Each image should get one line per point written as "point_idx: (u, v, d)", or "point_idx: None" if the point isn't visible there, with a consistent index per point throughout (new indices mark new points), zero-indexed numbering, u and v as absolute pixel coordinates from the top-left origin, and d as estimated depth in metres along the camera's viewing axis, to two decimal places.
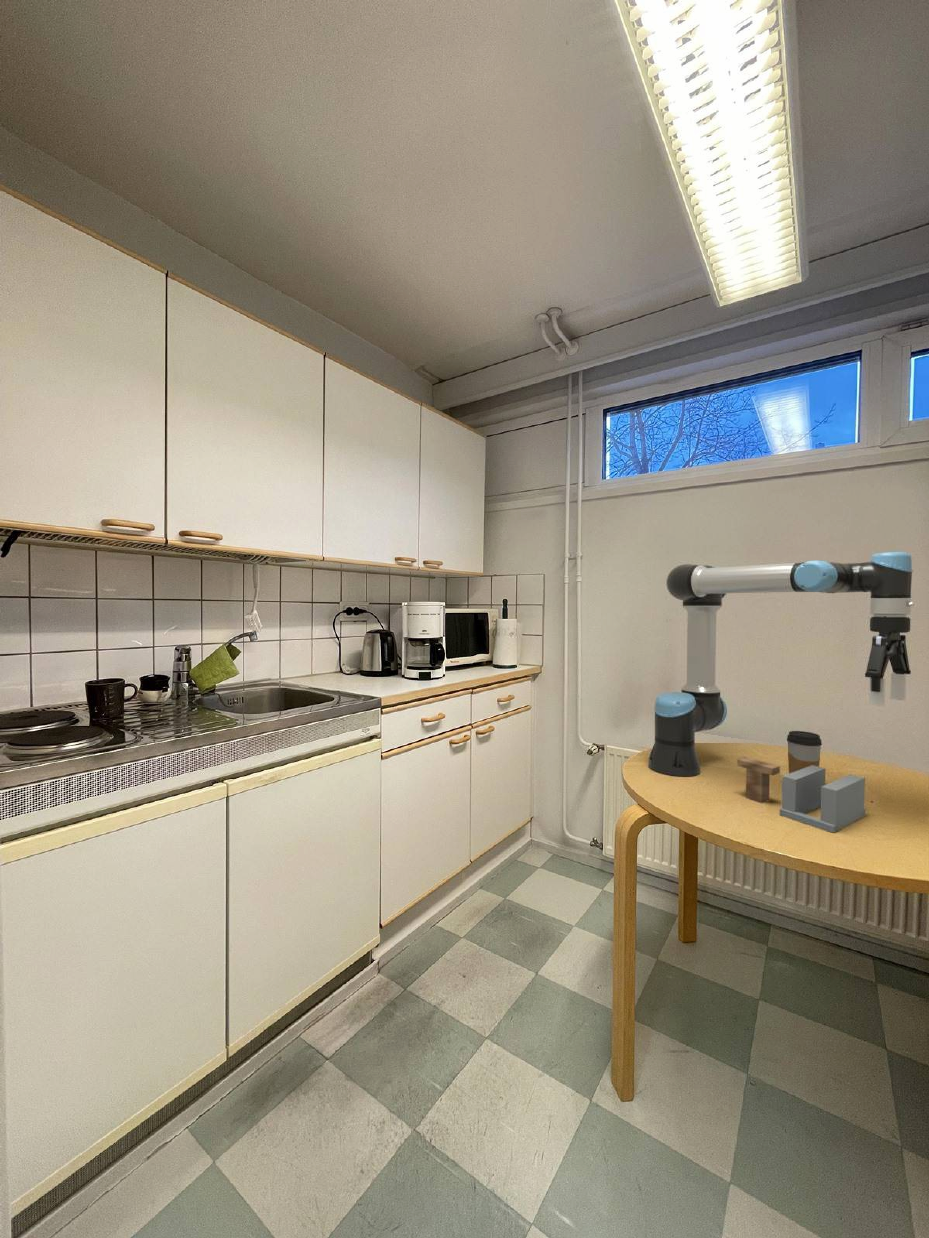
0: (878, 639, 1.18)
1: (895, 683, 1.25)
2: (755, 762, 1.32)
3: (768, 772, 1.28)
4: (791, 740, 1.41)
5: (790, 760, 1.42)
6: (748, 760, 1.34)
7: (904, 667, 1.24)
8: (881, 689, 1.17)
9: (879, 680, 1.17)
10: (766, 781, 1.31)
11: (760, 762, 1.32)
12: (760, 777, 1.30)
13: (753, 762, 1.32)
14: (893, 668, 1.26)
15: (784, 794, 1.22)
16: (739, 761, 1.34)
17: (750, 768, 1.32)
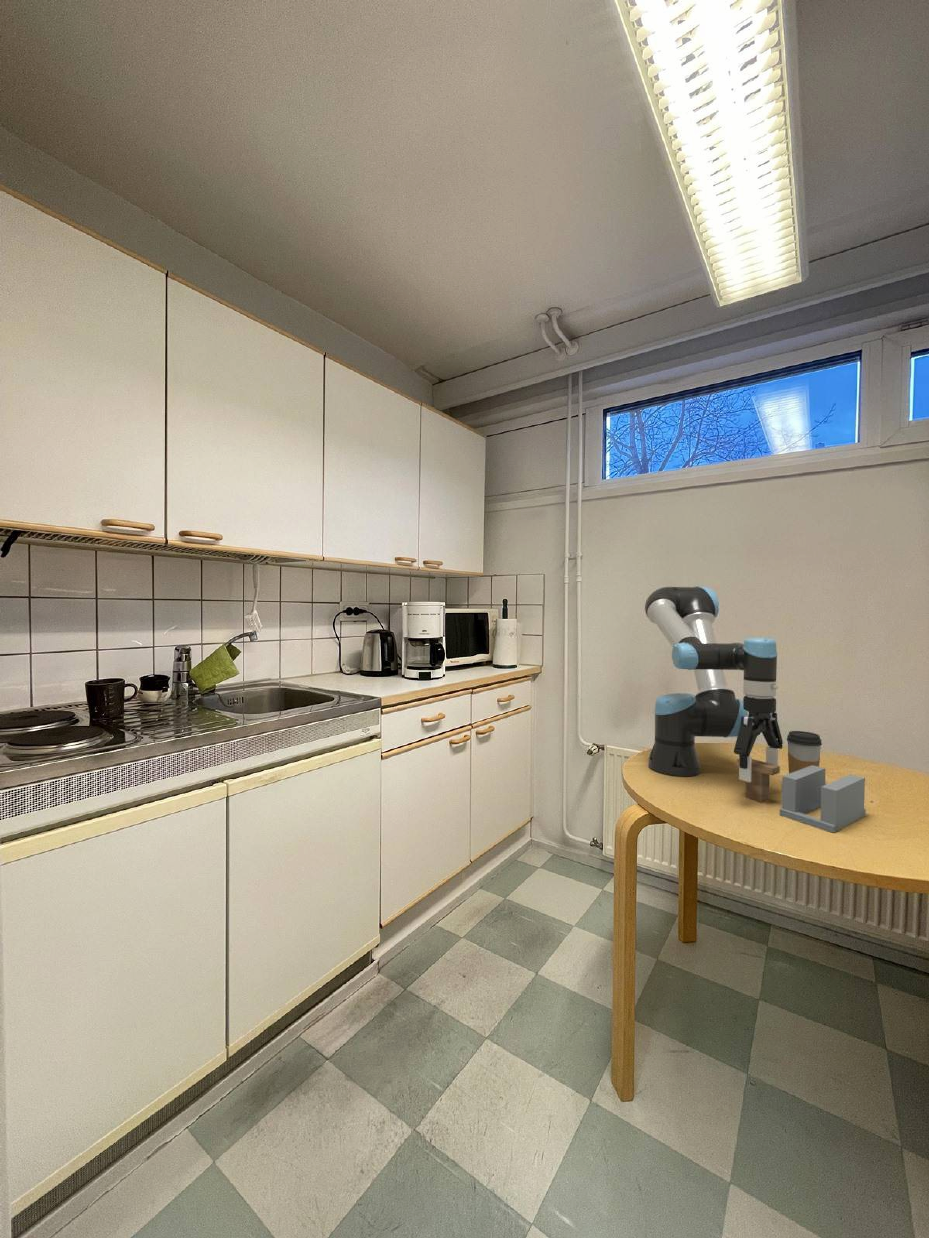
0: (745, 720, 1.28)
1: (769, 756, 1.36)
2: (755, 762, 1.32)
3: (768, 772, 1.28)
4: (791, 740, 1.41)
5: (790, 760, 1.42)
6: None
7: (776, 742, 1.34)
8: (748, 766, 1.27)
9: (746, 758, 1.27)
10: (766, 781, 1.31)
11: (760, 762, 1.32)
12: (760, 777, 1.30)
13: (753, 762, 1.32)
14: (767, 742, 1.36)
15: (784, 794, 1.22)
16: None
17: None
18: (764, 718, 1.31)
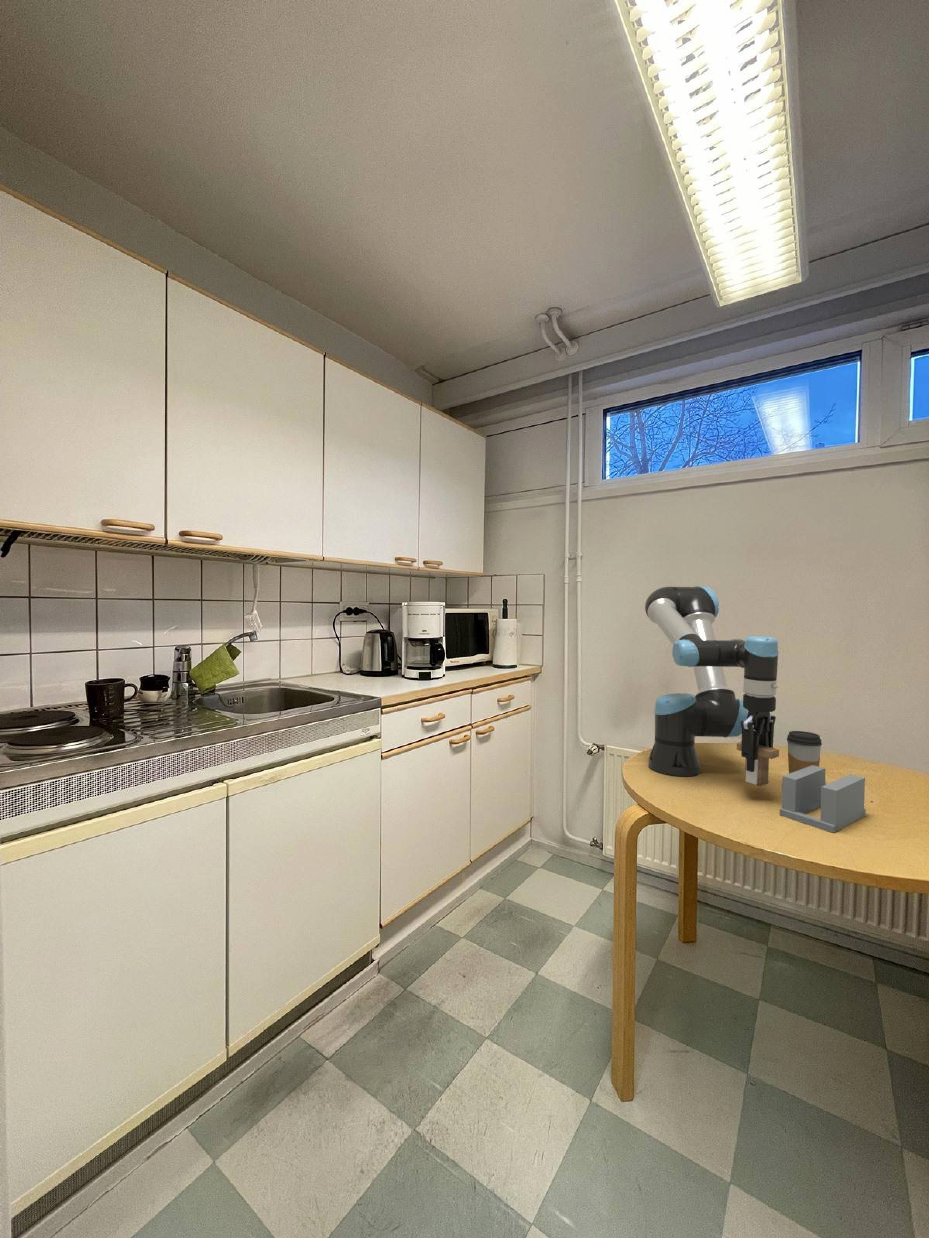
0: (745, 725, 1.29)
1: None
2: None
3: (767, 755, 1.28)
4: (791, 740, 1.41)
5: (790, 760, 1.42)
6: None
7: None
8: (754, 769, 1.31)
9: (753, 761, 1.30)
10: (765, 765, 1.31)
11: (759, 746, 1.33)
12: (759, 761, 1.30)
13: None
14: None
15: (784, 794, 1.22)
16: (739, 745, 1.35)
17: None
18: (764, 711, 1.31)
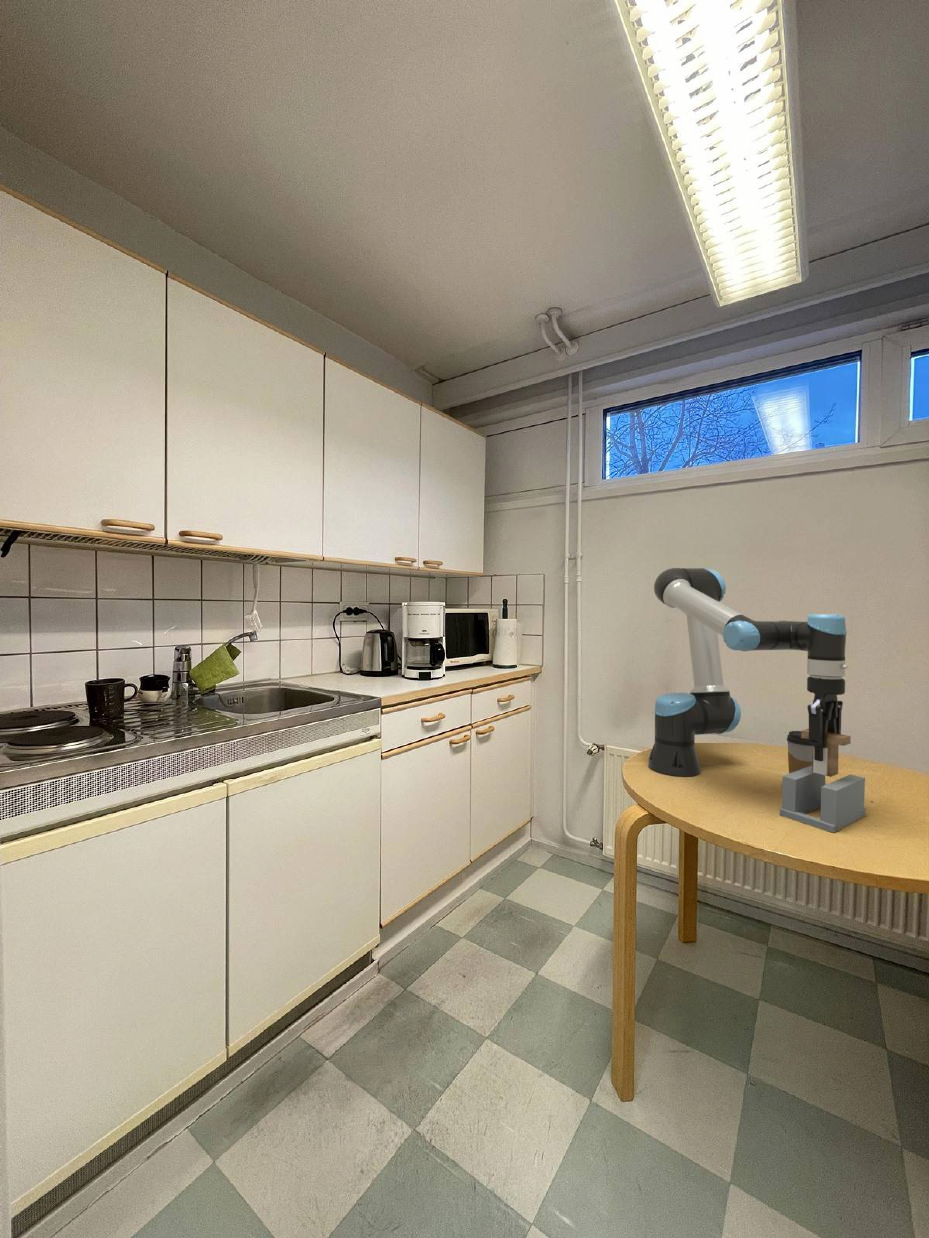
0: (813, 710, 1.18)
1: None
2: None
3: (839, 742, 1.17)
4: (791, 740, 1.41)
5: (790, 760, 1.42)
6: None
7: None
8: (824, 758, 1.19)
9: (822, 749, 1.19)
10: (835, 753, 1.20)
11: (827, 733, 1.22)
12: (829, 749, 1.19)
13: None
14: None
15: (784, 794, 1.22)
16: (803, 732, 1.24)
17: None
18: (832, 695, 1.21)
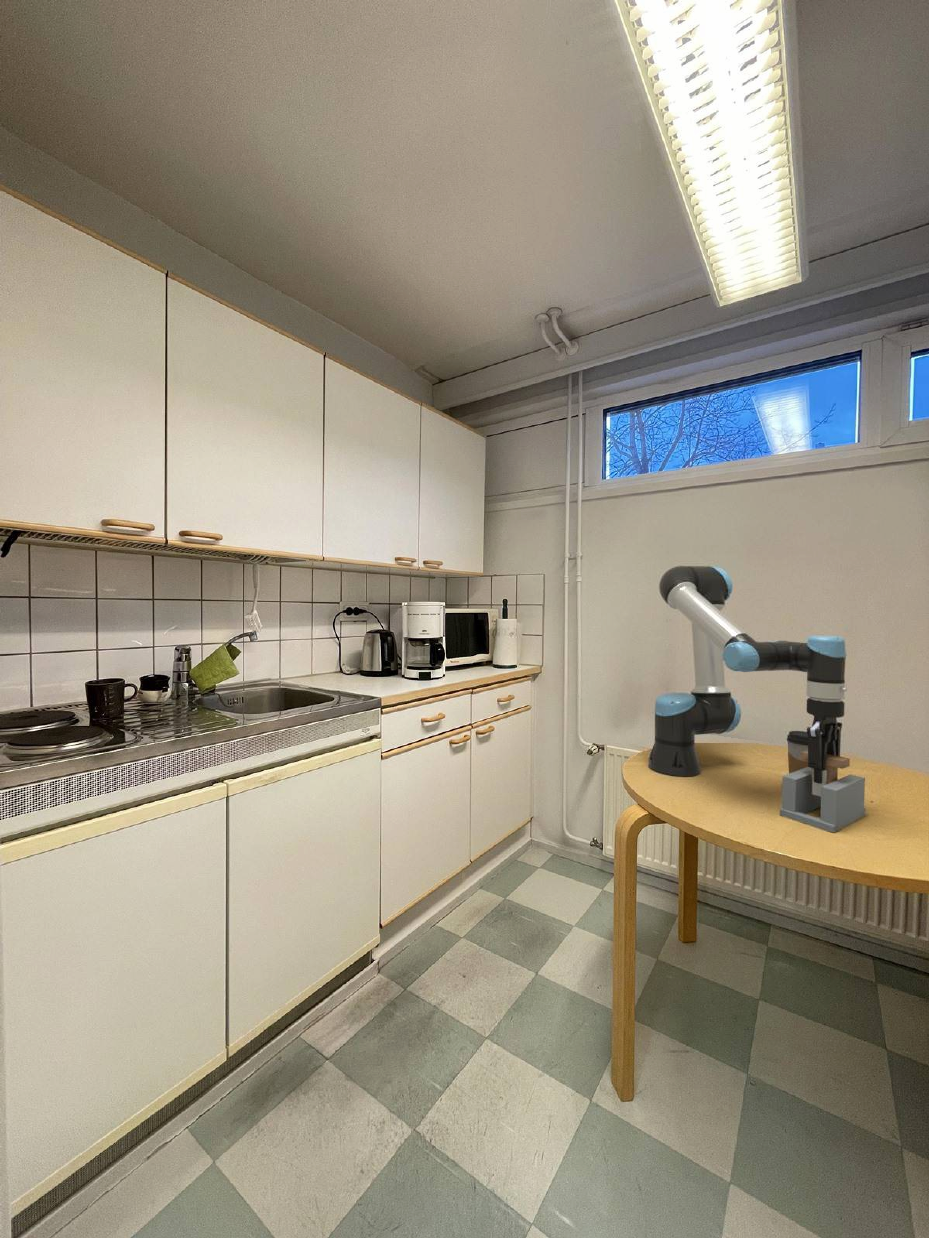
0: (812, 732, 1.18)
1: None
2: None
3: (838, 765, 1.18)
4: (791, 740, 1.41)
5: (790, 760, 1.42)
6: None
7: None
8: (823, 780, 1.20)
9: (821, 772, 1.19)
10: (834, 775, 1.20)
11: (827, 755, 1.22)
12: (828, 771, 1.19)
13: None
14: None
15: (784, 794, 1.22)
16: (803, 754, 1.24)
17: None
18: (831, 717, 1.21)
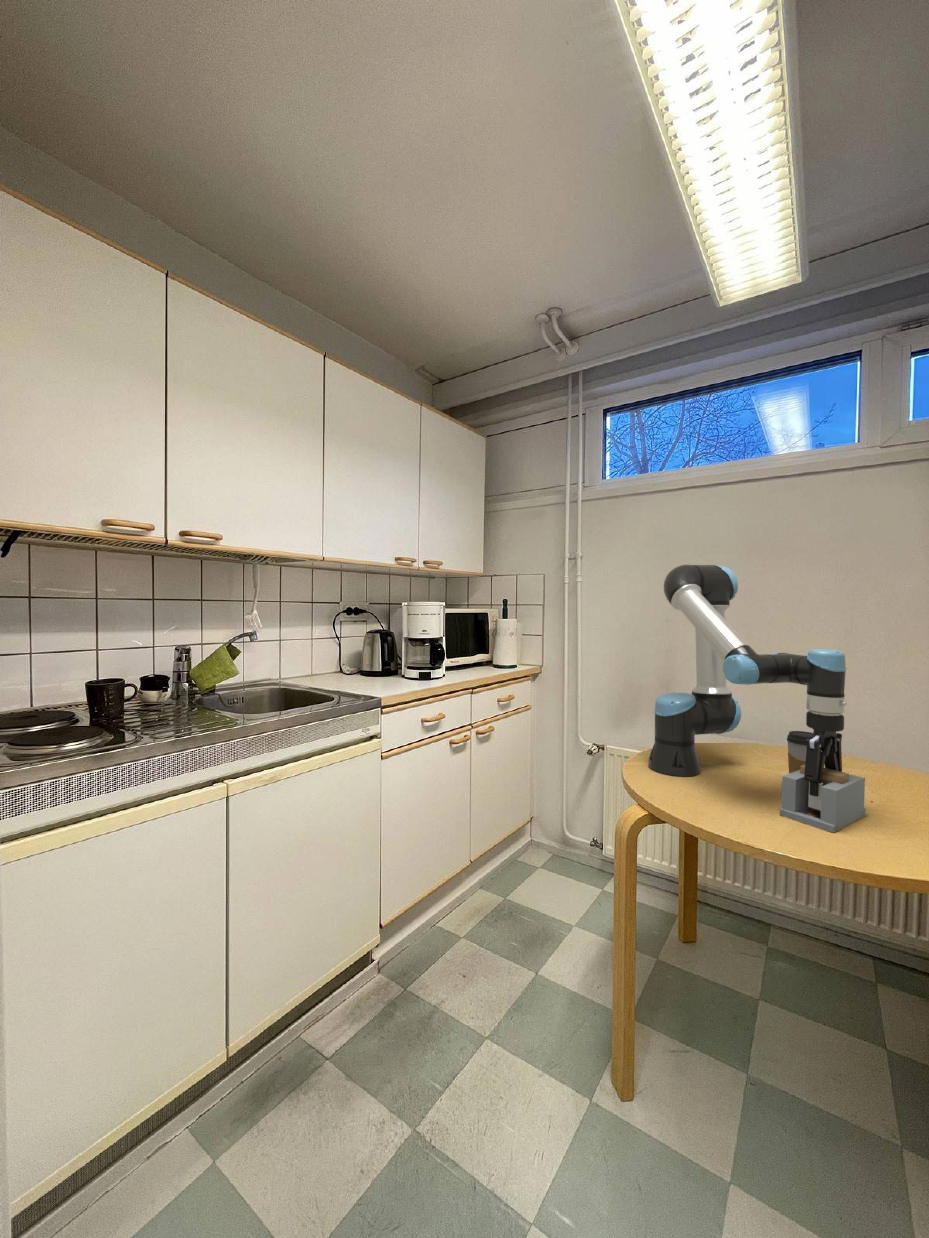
0: (811, 744, 1.18)
1: None
2: None
3: (837, 780, 1.18)
4: (791, 740, 1.41)
5: (790, 760, 1.42)
6: None
7: (836, 768, 1.23)
8: (819, 793, 1.19)
9: (817, 785, 1.19)
10: None
11: (826, 769, 1.22)
12: None
13: None
14: (826, 767, 1.25)
15: (784, 794, 1.22)
16: (802, 768, 1.24)
17: None
18: (830, 733, 1.21)
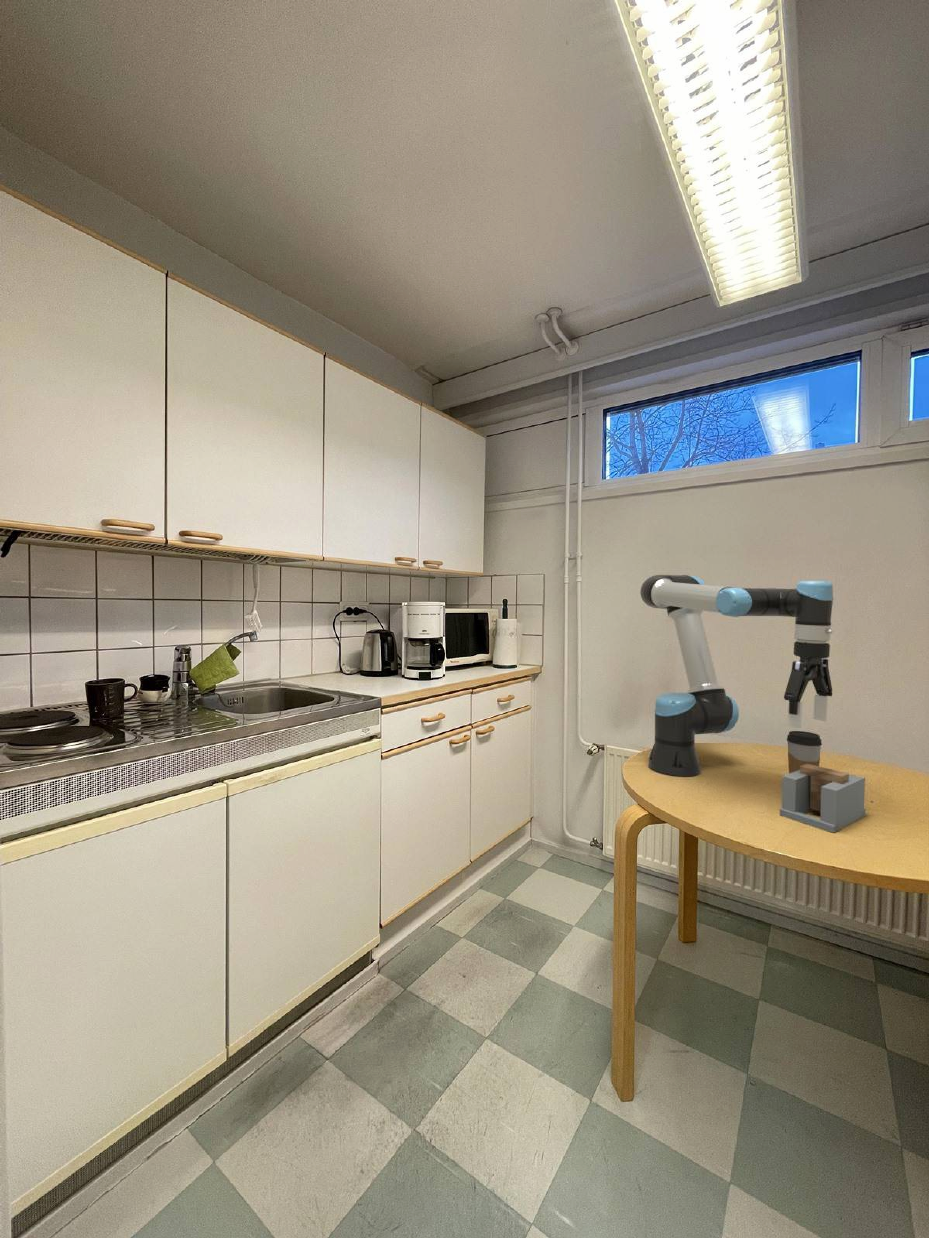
0: (797, 665, 1.23)
1: (817, 704, 1.31)
2: (820, 769, 1.22)
3: (837, 780, 1.18)
4: (791, 740, 1.41)
5: (790, 760, 1.42)
6: (812, 767, 1.24)
7: (826, 689, 1.30)
8: (798, 712, 1.23)
9: (796, 703, 1.23)
10: None
11: (826, 769, 1.22)
12: None
13: (818, 769, 1.22)
14: (816, 690, 1.32)
15: (784, 794, 1.22)
16: (802, 768, 1.24)
17: (815, 776, 1.22)
18: (816, 664, 1.26)
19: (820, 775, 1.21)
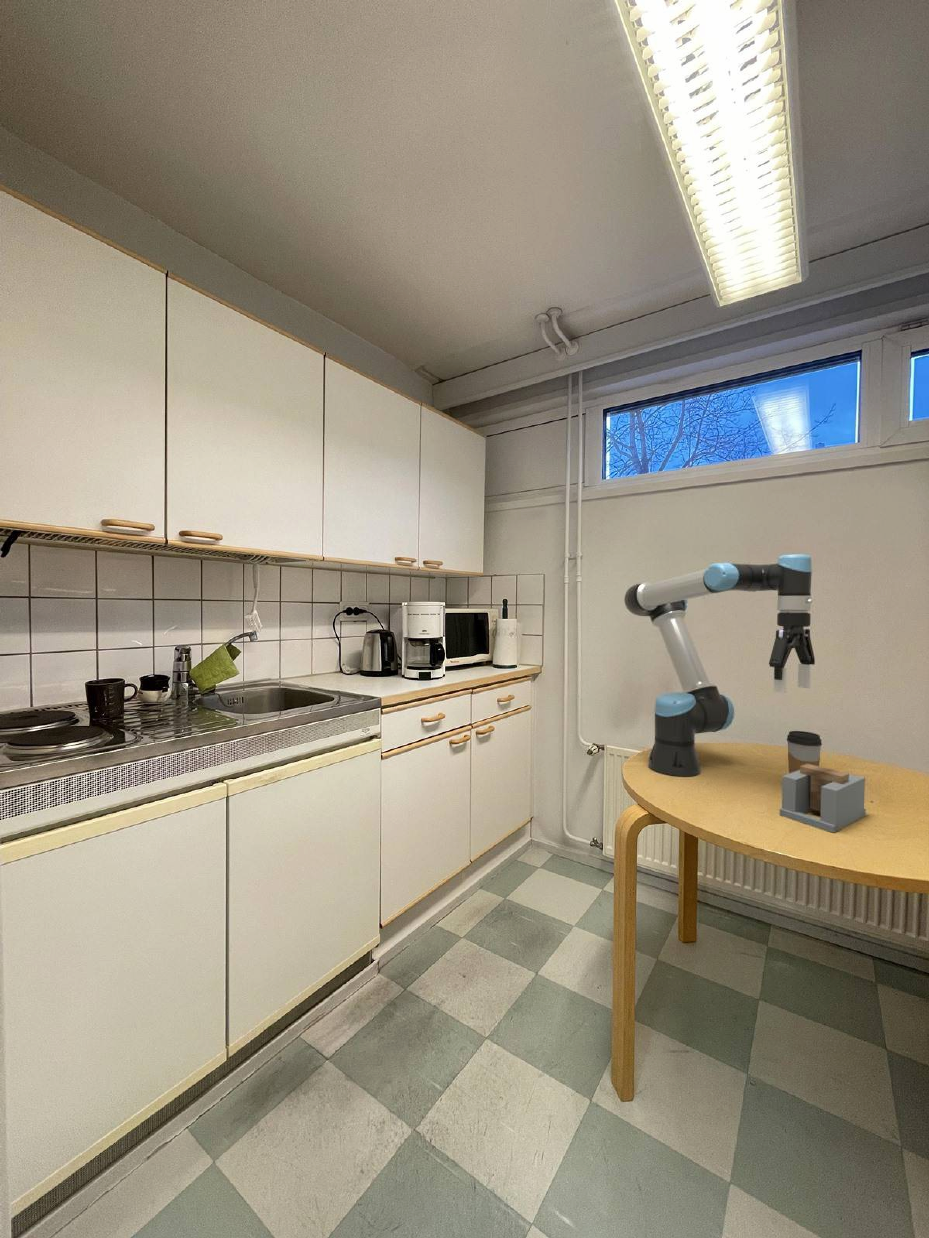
0: (780, 633, 1.31)
1: (801, 673, 1.39)
2: (820, 769, 1.22)
3: (837, 780, 1.18)
4: (791, 740, 1.41)
5: (790, 760, 1.42)
6: (812, 767, 1.24)
7: (808, 658, 1.37)
8: (783, 677, 1.30)
9: (781, 669, 1.30)
10: None
11: (826, 769, 1.22)
12: None
13: (818, 769, 1.22)
14: (800, 659, 1.39)
15: (784, 794, 1.22)
16: (802, 768, 1.24)
17: (815, 776, 1.22)
18: (798, 633, 1.34)
19: (820, 775, 1.21)
